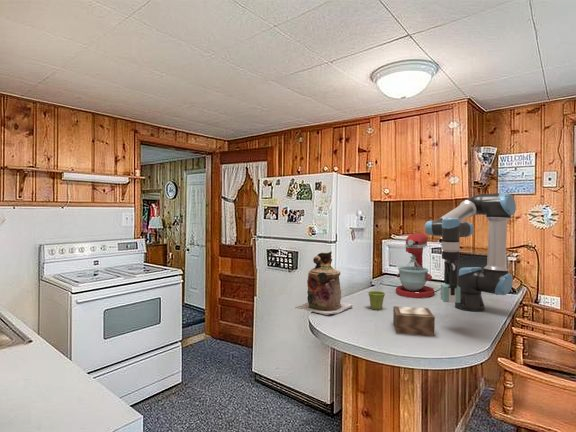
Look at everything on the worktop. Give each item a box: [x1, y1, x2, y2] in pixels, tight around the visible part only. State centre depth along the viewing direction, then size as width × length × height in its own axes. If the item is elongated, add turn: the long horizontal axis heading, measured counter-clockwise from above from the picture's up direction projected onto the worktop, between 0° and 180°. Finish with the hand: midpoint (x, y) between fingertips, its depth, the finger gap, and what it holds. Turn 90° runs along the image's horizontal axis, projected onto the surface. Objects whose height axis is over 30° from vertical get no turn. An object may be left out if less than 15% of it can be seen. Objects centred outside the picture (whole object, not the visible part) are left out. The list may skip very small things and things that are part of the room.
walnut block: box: [392, 305, 436, 337], centre depth 171 cm, size 16×16×8 cm
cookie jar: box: [294, 251, 354, 316], centre depth 206 cm, size 25×25×32 cm
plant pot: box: [367, 290, 386, 311], centre depth 207 cm, size 9×9×9 cm
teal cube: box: [440, 283, 460, 304], centre depth 173 cm, size 7×7×7 cm
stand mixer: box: [395, 232, 435, 299], centre depth 247 cm, size 24×32×40 cm
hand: (450, 299), depth 173 cm, fingers closed on teal cube, 7 cm apart
